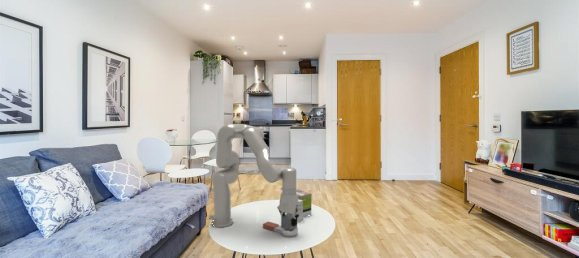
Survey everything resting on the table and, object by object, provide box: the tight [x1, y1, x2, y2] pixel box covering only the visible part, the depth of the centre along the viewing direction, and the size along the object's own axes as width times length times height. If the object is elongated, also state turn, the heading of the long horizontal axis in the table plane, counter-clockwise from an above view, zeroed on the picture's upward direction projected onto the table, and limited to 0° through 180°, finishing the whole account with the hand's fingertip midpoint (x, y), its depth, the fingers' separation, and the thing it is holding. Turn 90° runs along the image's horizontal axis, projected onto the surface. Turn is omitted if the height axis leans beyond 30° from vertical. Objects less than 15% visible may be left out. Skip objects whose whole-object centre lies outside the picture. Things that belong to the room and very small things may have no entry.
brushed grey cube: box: [280, 213, 298, 231], centre depth 141 cm, size 6×6×6 cm
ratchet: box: [262, 221, 299, 239], centre depth 145 cm, size 22×9×6 cm, turn 54°
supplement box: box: [285, 199, 304, 223], centre depth 160 cm, size 7×7×13 cm
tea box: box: [296, 188, 312, 218], centre depth 172 cm, size 15×10×15 cm, turn 38°
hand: (289, 223), depth 141 cm, fingers open, 6 cm apart
